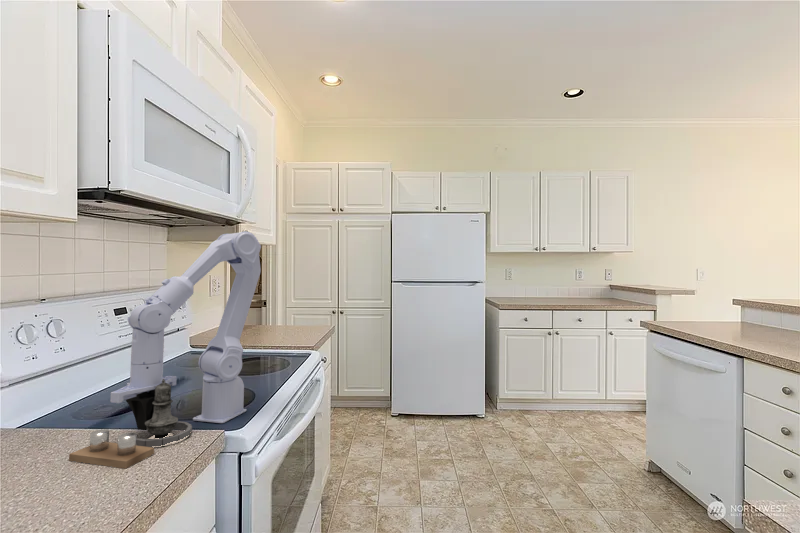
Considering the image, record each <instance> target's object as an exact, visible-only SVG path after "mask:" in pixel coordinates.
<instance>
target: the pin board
mask: <svg viewBox="0 0 800 533" xmlns="http://www.w3.org/2000/svg"><path fill="white" fill-rule="evenodd" d="M89 434H90V435H89V445H88V446H86V447H84V448H81V449H78V450H76V451H73V452H70V453H69V454H68V457H69V458H68V461H69V462H73V461H76V462H75V463H81V462H83V464H88V463H90V464H89V465H95V464H96V466H102V465H103V466H104V467H110V466H112V467H111V468H118V469H128V468H130V467H133V466H134V465H135V464H138V463H140V462H142V461H143V459H144V460H146V459H147V457H148V458H150V457H151V455H152V454H154V455H155V448H153V447H145V446H136V439H137V437H138V436H137V435H138V434H137V433H136V432H126V433H125V432H124V433H122V434H119V435H117V442H111V441H110V429H106V428H105V429H98V430H94V431H92V432H90V433H89ZM149 456H150V457H149ZM152 456H153V455H152ZM145 458H146V459H145Z"/></svg>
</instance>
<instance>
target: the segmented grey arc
mask: <svg viewBox="0 0 800 533" xmlns="http://www.w3.org/2000/svg"><path fill="white" fill-rule="evenodd" d="M173 430H179V431H181V432H179V433H177V434H175V435H173V436H169V437H165V438H159V439H147V438H139V437H138V438H137V439H136V446H145V447H152V446H161V445H165V444H167V443H170V442H173V441H178V440H180V439H183V438H184V437H186V436H188V435H190V432H191V431H192V432H193V425H192V424H191V423H189V422H187V421H182V420H181V421H179V420H178V421H177V422H176V426H175V428H174V429H173ZM184 430H185V431H184ZM190 436H191V435H190Z"/></svg>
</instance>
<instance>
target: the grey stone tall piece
mask: <svg viewBox="0 0 800 533" xmlns="http://www.w3.org/2000/svg"><path fill="white" fill-rule="evenodd" d="M171 398H172V386H171V385H170V384H167V383H165V380H164V379H163V380H162V383H161V384H159V385H157V386H156V388H155V401H154V402H153V403H152V404H154V413H153V417H152V418H151V419H150V420H148V421H146V422H145V425H146V426H147V430H146V431H147V432H148V434H150V436H152V435H155V438H163V437H165V436H167V435H168V433H172V432H173V431H174V430H175V429H174V428H175V426H176V422H177V421H179V418H178V416H174V415H172V411H171V410H172V408H171V407H172V403H173V402H174V400H173V399H171Z"/></svg>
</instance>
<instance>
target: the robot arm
mask: <svg viewBox="0 0 800 533" xmlns="http://www.w3.org/2000/svg"><path fill="white" fill-rule="evenodd" d="M261 248H262V245H261V243H260V242H259V240H258V238H257V237H256V235H255V234H254V233H253V232H250V231H247V230H246V231H245V230H244V231H240V232H233V233H223V234H220V236H218V237H217V239H216V240H214V241H212V242H211V243H210V244H209V245H208V247H207V248H206V249H205V250H204V251H203V252H202V253H201V255H199V256H198V258H197V259H195V261H194V262H193V263H192V264H191V265H190V266H189V267H188V268H187V269H186V270H185V271H184V273H182V274H181V275H180V276H178V275H177V276H175V275H174V276H171V277H169V278H164V279H163V280H162V281H161V284H162V285H161V286H160V287H159V288H158V289H157V290H156V291H155V292H154V293H153V294H151V296H148V295H147V296H146V297H145V298H144V301H145V303H142V304H139V305H136V306H135V307H134V308H133V309H132V310H131V311H130V315H129V316H128V317H127V322H128V325H129V326H130V327H131V329H132V334H131V336H132V339H131V348H130V349H131V350H130V351H131V354H130V370H129V371H130V372H129V374H130V375H129V376H130V377H129V382H127V383H126V386H123V387H121V388H118V389H117V390H114V391H111V392H110V403H113V404H115V403H116V404H121V403H124V401H125V402H126V403H127V405H128V406H129V407H130V409H131V411H132V413H133V416H134V419H135V424H136V426H137V427H136V428H137V430H138V431H139V430H140V431H147V426H146V425H145V422H146V421H148V420H150V419H151V418H152V417H153V413H154V404H152V403H153V402H154V401H155V388H156V386H157V385H159V384H161V383H162V380H163V379H164V380H165V383H167V384H170V385H171V387H174V386H177V376H176V375H166V376H163V374H164V353H165V352H164V348H165V345H164V344H165V329H166V328H167V327H168V326H169V325H170V323H171V320H172V319H171V318H172V316H173V315H174V314H175V313H176V312H177V311H178V310H179V309H180V308H181V307H182V306H183V305H184V304H185V303H186V302H187V301H189V299H190V298H191V297H192V296H193V295H194V287H195V285H196V284H198V282H199V281H201V280H202V279H203V278H204V277H205V276H206V275H207V274H209V272H211V271H212V270H213V269H214V268H215V267H217V265H218V264H220V263H222V262H227V264H228V265H230V266H231V268H232V269H233V270H234V272H235V277H234V280H233V283H232V286H231V290H230V292H229V294H228V298H227V301H226V304H225V307H224V310H223V313H222V316H221V320H220V322H219V326H218V329H217V332H216V334H215V336H214V337H213V338H212V339H211V340H209V341H208V344H207V347H206V348H205V350H204V351H203V352H202V353H201V355H200V356H199V358H198V364H197V365H198V367H199V370H200V371H201V372H202V374H203V375H202V393H201V394H202V395H201V396H202V397H201V399H202V400H201V414H198V415H196V416H194V417H193V418H192V421H196V422H197V421H198V422H205V423H206V422H207V423H216V424H224V423H226V422H229V421H230V420H232V419H234V418H236V417H239V416H240V415H241V414H244V413H245V412H247V408H244V403H245V401H244V396H245V393H244V392H245V384H244V382H243V379H242V378H241V377H240V376H239V375H240V373H241V371H242V368H243V352H244V348H243V346H242V344H241V337H242V333H243V330H244V327H245V323H246V321H247V317H248V315H249V311H250V308H251V304H252V300H253V299H254V295H255V292H256V288H257V285H258V281H259V279H260V275H261V271H262V269H261V262H260V251H261Z"/></svg>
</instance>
